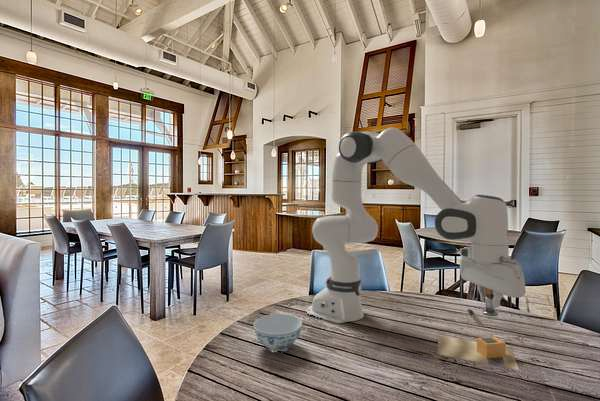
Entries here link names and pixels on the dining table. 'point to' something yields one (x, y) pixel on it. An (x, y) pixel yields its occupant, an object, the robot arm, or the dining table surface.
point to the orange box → (491, 347)
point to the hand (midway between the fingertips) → (490, 304)
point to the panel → (473, 352)
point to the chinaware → (277, 331)
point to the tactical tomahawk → (475, 317)
